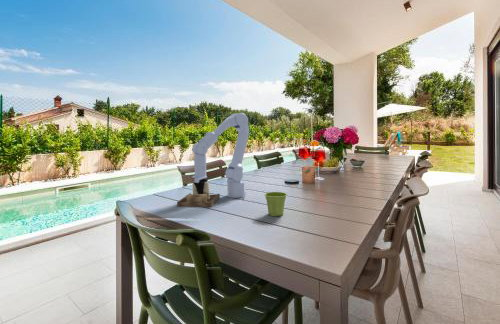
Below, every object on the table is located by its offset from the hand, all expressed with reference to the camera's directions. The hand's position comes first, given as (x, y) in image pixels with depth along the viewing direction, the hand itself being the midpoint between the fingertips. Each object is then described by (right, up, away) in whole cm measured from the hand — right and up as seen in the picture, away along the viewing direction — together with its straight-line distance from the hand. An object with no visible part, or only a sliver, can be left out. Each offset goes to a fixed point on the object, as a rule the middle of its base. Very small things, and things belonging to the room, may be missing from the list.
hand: (201, 194), depth 140 cm
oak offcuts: (-1, -4, -8) cm, 9 cm away
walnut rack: (0, -4, -2) cm, 5 cm away
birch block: (0, -3, 0) cm, 3 cm away
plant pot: (+35, -6, -21) cm, 41 cm away
